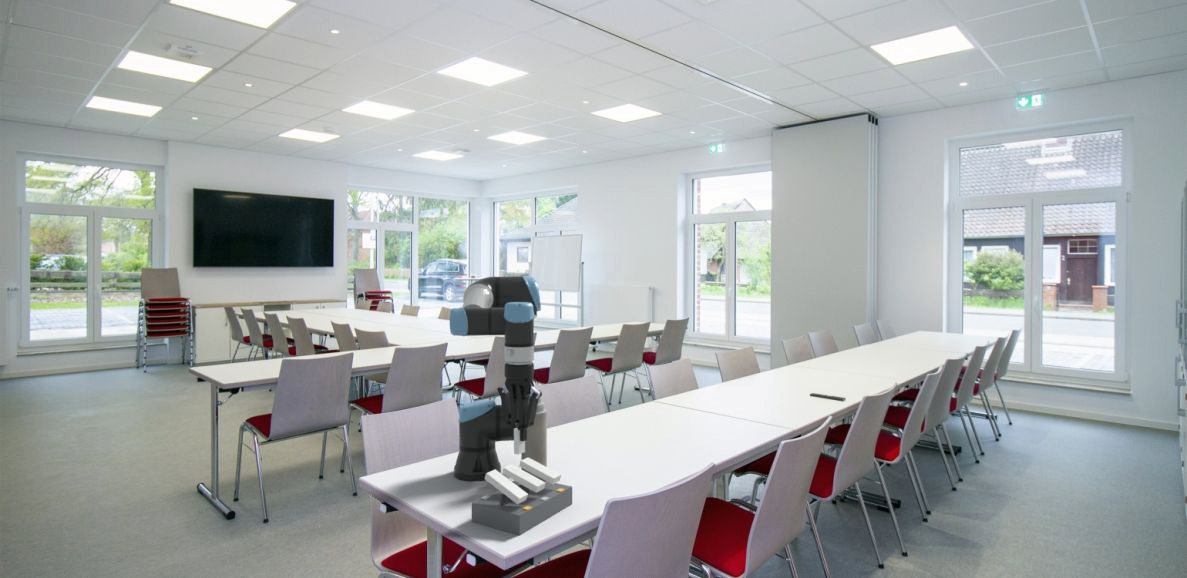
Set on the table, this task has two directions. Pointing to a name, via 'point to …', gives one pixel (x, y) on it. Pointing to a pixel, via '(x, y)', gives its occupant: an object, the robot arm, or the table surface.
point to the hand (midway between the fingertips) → (519, 452)
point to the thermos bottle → (537, 437)
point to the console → (521, 508)
